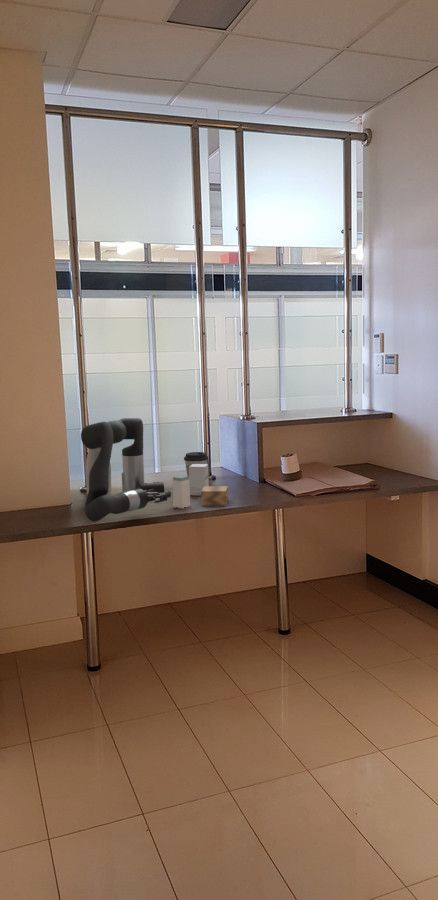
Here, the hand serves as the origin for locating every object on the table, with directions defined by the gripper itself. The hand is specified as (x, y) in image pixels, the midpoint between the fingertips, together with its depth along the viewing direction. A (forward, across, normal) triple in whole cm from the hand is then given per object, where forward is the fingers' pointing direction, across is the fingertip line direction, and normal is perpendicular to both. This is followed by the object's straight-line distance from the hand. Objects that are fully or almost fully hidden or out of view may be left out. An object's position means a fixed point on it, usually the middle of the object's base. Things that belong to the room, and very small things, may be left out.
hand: (162, 493), depth 275 cm
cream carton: (+12, 0, +8) cm, 14 cm away
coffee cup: (+46, +22, +7) cm, 52 cm away
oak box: (+24, -7, +8) cm, 26 cm away
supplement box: (+34, +10, +7) cm, 36 cm away
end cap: (+16, +22, +8) cm, 28 cm away
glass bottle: (-3, +32, +8) cm, 33 cm away
